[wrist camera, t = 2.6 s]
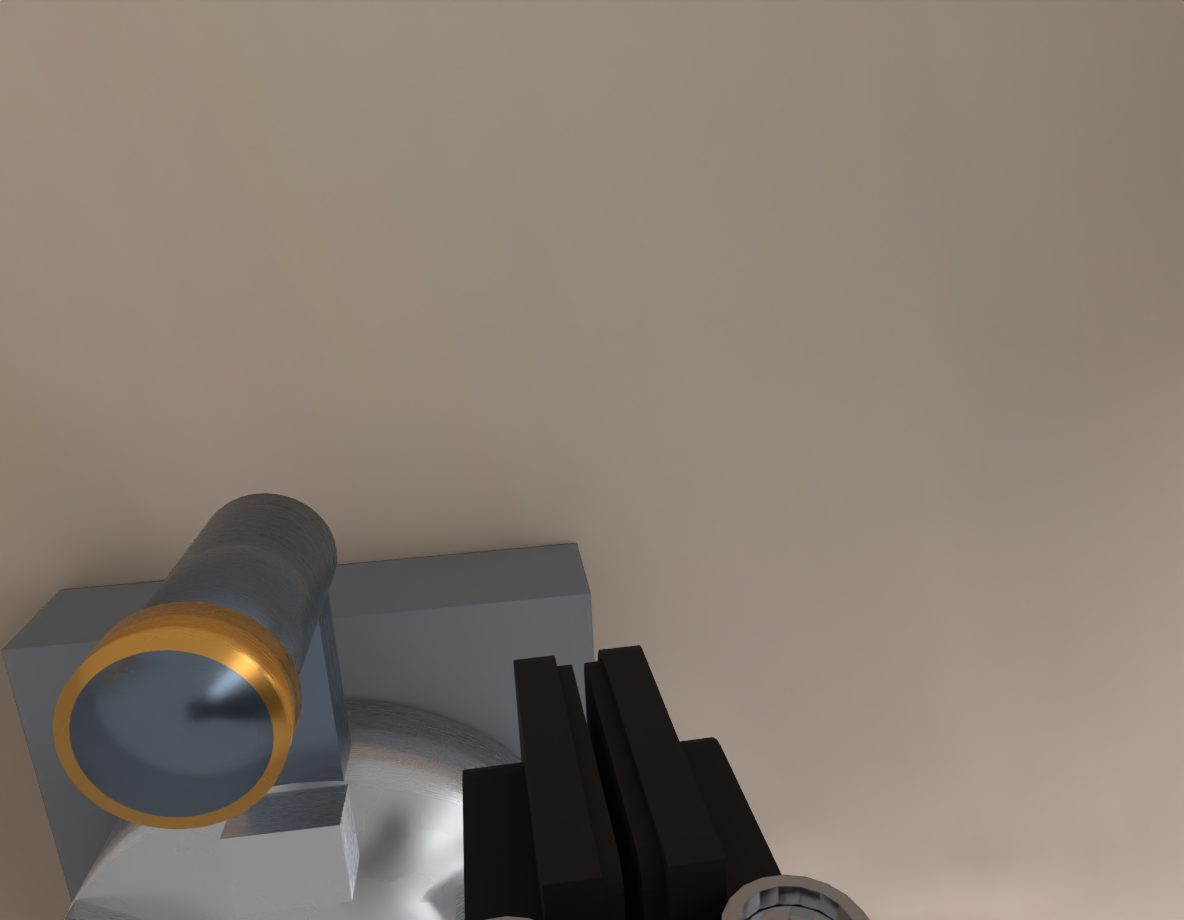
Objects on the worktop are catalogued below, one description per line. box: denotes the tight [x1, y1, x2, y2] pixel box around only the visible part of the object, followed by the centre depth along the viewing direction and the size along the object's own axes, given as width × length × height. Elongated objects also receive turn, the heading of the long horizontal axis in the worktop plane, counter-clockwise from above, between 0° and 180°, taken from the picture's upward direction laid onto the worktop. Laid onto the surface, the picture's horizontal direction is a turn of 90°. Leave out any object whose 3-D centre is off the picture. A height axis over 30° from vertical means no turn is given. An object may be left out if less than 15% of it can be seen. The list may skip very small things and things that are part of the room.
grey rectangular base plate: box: [1, 543, 594, 902], centre depth 24 cm, size 13×16×3 cm
